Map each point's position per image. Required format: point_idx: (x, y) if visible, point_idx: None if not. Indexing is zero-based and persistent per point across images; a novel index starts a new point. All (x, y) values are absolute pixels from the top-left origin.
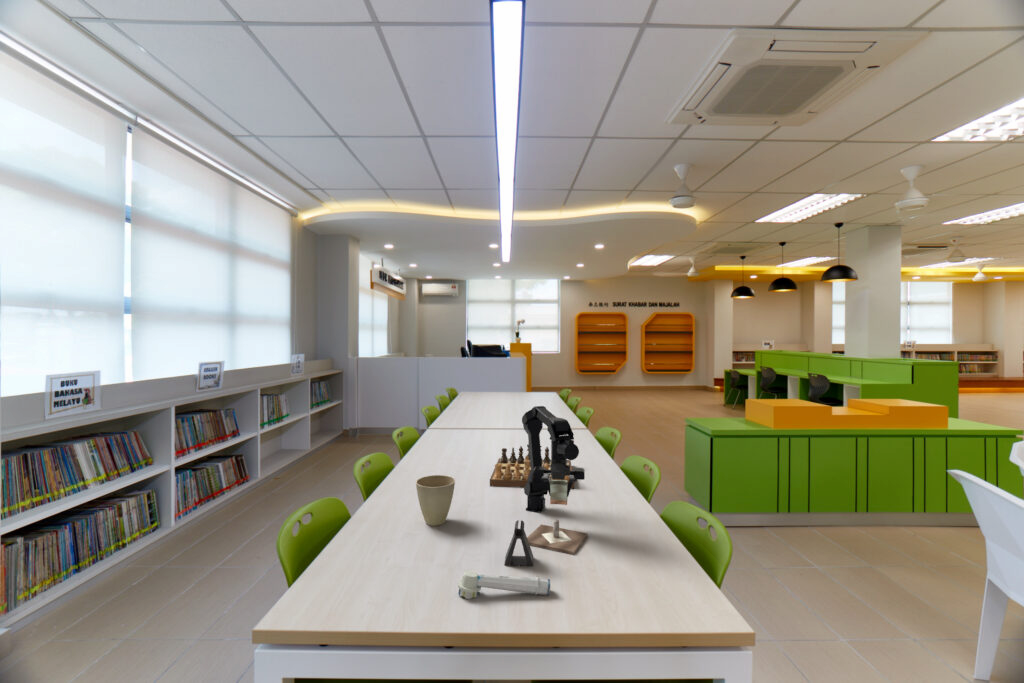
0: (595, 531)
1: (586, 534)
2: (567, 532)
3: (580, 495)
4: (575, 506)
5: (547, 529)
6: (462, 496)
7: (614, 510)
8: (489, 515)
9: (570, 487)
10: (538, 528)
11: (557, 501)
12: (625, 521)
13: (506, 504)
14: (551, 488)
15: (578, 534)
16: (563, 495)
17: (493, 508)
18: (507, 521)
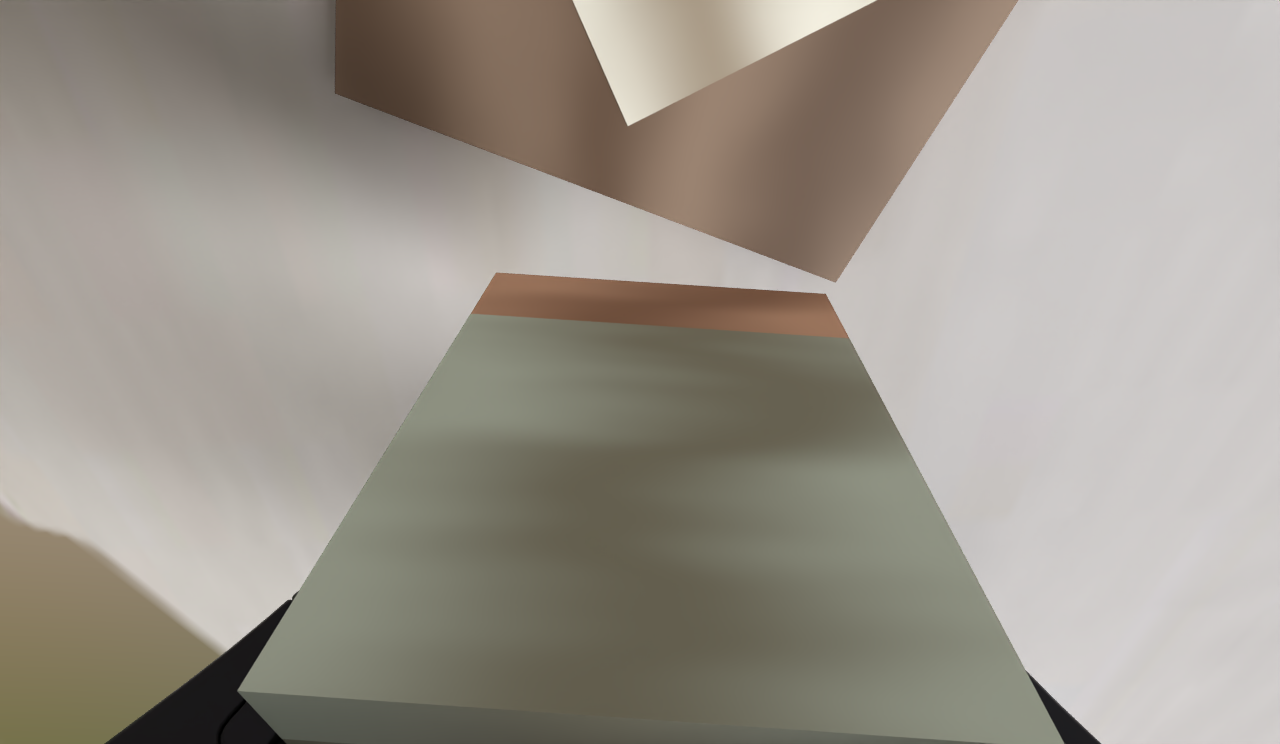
0: (312, 221)
1: (340, 55)
2: (561, 90)
3: None
4: None
5: (787, 156)
6: (1269, 678)
7: (297, 557)
8: (1236, 456)
9: (264, 634)
10: (887, 172)
11: (683, 311)
12: (158, 423)
13: (1008, 603)
14: (928, 572)
15: (429, 43)
16: (520, 388)
17: (1135, 555)
18: (1125, 361)
